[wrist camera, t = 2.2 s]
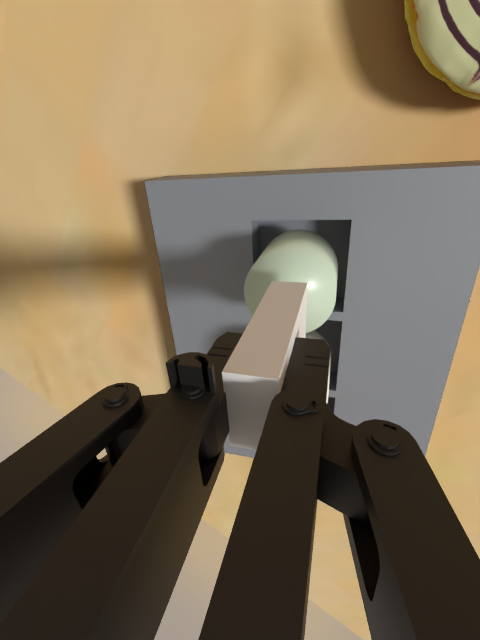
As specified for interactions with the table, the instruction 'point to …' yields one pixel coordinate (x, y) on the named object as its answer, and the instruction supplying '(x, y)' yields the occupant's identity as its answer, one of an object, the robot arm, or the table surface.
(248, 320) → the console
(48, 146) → the table surface
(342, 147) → the table surface
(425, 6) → the decorated donut
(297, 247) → the sage button
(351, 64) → the table surface
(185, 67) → the table surface
